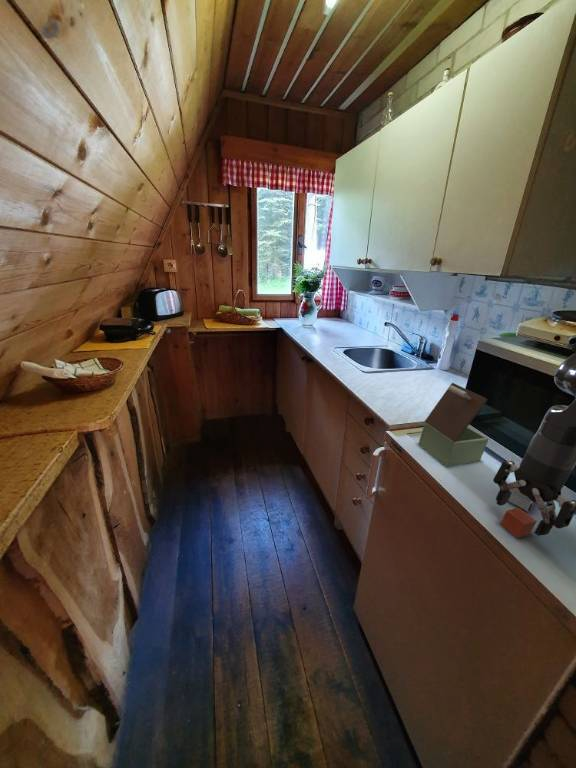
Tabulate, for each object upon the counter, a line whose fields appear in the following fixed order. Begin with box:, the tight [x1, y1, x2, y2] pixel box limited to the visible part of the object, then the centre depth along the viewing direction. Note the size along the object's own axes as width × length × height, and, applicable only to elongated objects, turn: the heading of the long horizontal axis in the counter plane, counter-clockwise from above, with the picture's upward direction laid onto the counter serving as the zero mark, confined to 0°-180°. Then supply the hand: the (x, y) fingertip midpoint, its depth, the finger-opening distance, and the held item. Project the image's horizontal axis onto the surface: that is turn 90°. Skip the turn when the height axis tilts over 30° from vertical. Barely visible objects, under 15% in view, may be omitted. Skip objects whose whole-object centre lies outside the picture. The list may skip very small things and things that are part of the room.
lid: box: [424, 382, 488, 442], centre depth 88 cm, size 14×12×5 cm
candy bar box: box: [507, 488, 536, 513], centre depth 76 cm, size 11×5×16 cm, turn 131°
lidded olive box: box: [417, 422, 490, 467], centre depth 94 cm, size 14×12×8 cm
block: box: [500, 506, 538, 539], centre depth 67 cm, size 4×4×4 cm
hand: (518, 518), depth 67 cm, fingers open, 8 cm apart
